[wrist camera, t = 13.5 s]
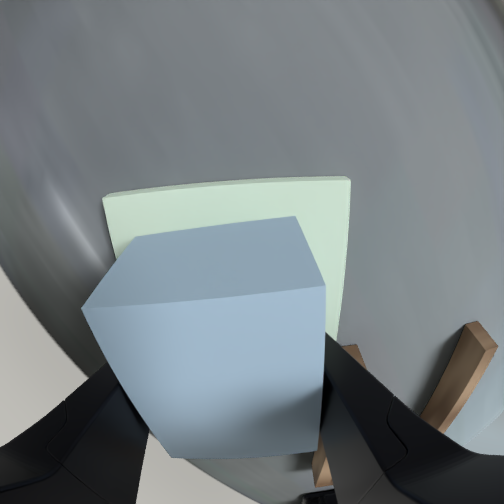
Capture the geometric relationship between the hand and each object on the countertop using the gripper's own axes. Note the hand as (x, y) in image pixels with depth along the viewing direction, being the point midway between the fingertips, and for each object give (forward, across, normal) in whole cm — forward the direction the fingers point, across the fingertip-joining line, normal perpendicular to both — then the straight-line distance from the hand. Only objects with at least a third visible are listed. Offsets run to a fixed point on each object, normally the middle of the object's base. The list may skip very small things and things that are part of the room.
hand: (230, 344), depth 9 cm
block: (+1, 0, 0) cm, 1 cm away
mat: (+3, 0, 0) cm, 3 cm away
